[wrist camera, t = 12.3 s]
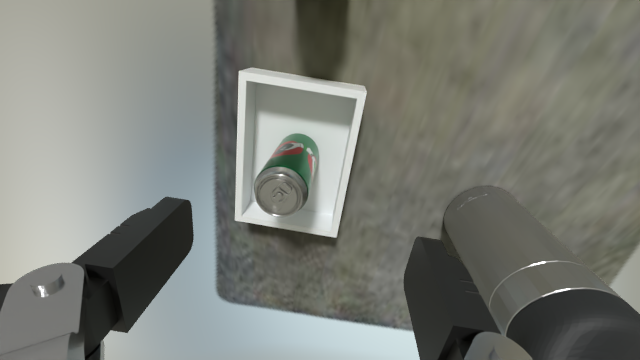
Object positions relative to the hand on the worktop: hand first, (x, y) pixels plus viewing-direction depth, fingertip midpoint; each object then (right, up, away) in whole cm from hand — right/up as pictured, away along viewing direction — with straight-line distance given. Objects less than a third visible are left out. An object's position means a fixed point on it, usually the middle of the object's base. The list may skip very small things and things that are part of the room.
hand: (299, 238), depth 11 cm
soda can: (-2, +6, +26) cm, 27 cm away
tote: (-2, +6, +27) cm, 28 cm away
